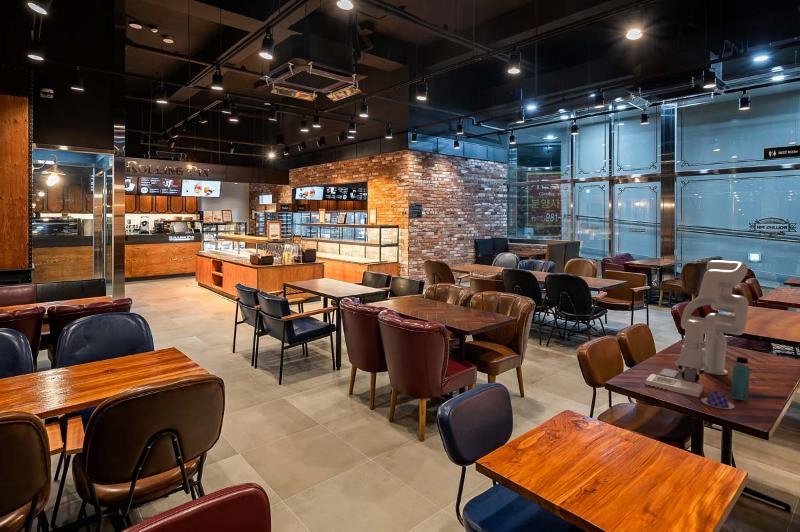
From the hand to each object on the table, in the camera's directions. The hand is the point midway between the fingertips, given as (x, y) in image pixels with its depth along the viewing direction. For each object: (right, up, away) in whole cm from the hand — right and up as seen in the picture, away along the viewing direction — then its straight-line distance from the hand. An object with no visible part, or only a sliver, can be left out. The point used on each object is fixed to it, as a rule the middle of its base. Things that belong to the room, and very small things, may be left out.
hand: (690, 380), depth 221 cm
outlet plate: (-11, -2, -5) cm, 12 cm away
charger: (0, -2, 0) cm, 2 cm away
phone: (-2, -1, +14) cm, 15 cm away
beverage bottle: (+9, -4, -20) cm, 22 cm away
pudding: (-3, -5, -24) cm, 24 cm away
